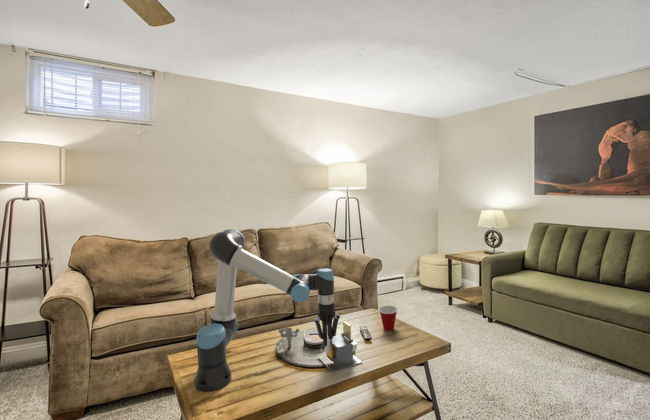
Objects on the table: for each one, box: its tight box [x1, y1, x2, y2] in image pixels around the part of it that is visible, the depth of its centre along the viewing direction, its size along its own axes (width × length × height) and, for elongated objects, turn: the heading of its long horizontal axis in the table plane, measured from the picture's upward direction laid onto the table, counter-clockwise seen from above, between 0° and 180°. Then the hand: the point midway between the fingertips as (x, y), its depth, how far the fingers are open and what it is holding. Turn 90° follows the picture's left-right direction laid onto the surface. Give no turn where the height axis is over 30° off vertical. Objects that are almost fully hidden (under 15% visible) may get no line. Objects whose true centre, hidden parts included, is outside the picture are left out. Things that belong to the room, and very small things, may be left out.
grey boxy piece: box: [321, 332, 363, 373], centre depth 162 cm, size 16×14×11 cm
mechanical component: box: [278, 327, 300, 348], centre depth 177 cm, size 3×10×10 cm, turn 89°
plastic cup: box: [378, 305, 398, 332], centre depth 197 cm, size 11×11×12 cm
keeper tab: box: [342, 320, 352, 340], centre depth 163 cm, size 7×6×1 cm
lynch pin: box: [327, 341, 358, 359], centre depth 163 cm, size 14×5×5 cm, turn 116°
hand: (327, 351), depth 159 cm, fingers closed
